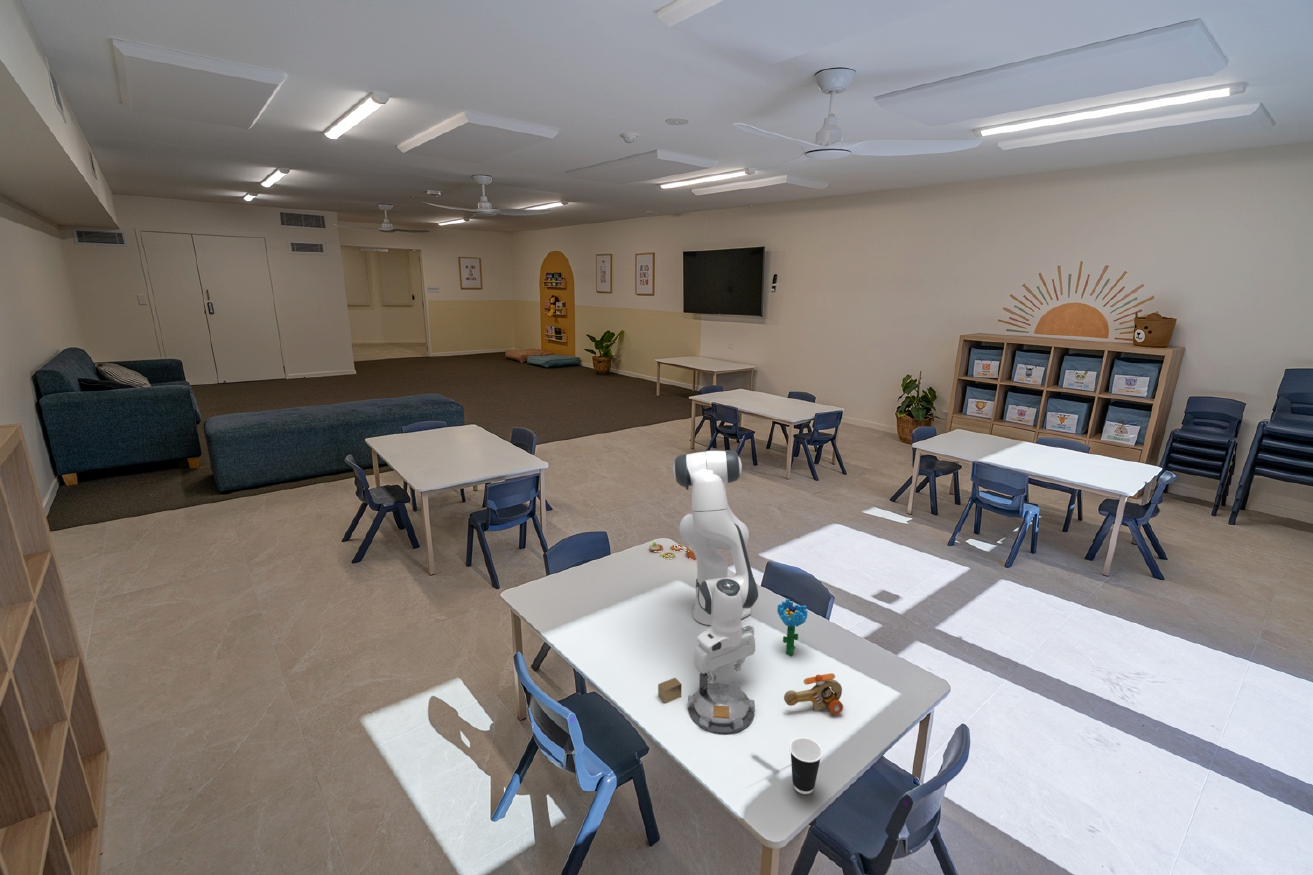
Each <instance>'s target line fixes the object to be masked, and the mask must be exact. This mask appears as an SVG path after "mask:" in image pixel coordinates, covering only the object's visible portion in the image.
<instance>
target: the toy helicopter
mask: <svg viewBox="0 0 1313 875" xmlns="http://www.w3.org/2000/svg"><path fill="white" fill-rule="evenodd" d="M835 678H836V674H834V673H832V672H831V673H824V674H816V675H815V676H811V677H806V678H804V679H803V684H804V685H811V684H815V685H814V686H813V687H812V688H810V689H807V690H806V689H805V690H800V691H795V690H787V691H786V692H785V693H784V695H783V700H784V702H785V704H787V706H789V707H791V706H795V705H796V704H798V703H803V702H804V703H806V702H811V703H812V708H813V710H814V711H816V712H818V711H820V710H821V709H828V711H829V712H830V713H831V714H832V715H840V714H841V713H842V711H843V710H844V705H843V703H842V702H841V700H840V699H841V697H842V694H843V687H842V685H841V684H840V682H839V681H837V680H836V679H835Z"/></svg>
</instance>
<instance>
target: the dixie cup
mask: <svg viewBox="0 0 1313 875" xmlns="http://www.w3.org/2000/svg"><path fill="white" fill-rule="evenodd" d="M788 748H789V751H790V762H791V765H790V766H791V778H792V780H791V781H792V785H793V788H794V790H795V791H796V792H798V793H800V794H803V795H809V794H811V793H813V791H814V789H815V786H816V781H817V776H818V772H819V768H820V762H821V759H822V757H823V752H824V751H823V749H822V746H821V745H820V744H819V743H818V742H817V741H815V740H813V739H812V738H808V737H802V736H801V737H797V738H794V739H792V740H791V741H790V744H789V747H788Z"/></svg>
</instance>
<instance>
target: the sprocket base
mask: <svg viewBox="0 0 1313 875" xmlns="http://www.w3.org/2000/svg"><path fill="white" fill-rule="evenodd" d="M694 694H695V693H693V694H692V696H694ZM748 700H750V698H749V697H748ZM687 710H688V714H689V717H690V719H691V721H692V722H693V723H694V724H696V725H697V727H699V728H701V729H702V730H703V731H706V732H709V733H712V734H716V735H734V734H737V733H741V732H743V731H744V730H746V729H747V728H748V727H749V726H750V725H751V724H752V723H753V720H754V716H755V712H749V713H748V715H747V717H746V718H745V719H744V720H743V727H741V728H738V729H735V730H734V729H733V727H732V726H715V725H712V724H711V725H710V726H709V727H706V726H704V725H702V724H700V723H699V722H700V718H699V717H698V716H697V714H696V713H695V711H694V708H691V707H688V706H687Z"/></svg>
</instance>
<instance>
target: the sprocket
mask: <svg viewBox="0 0 1313 875" xmlns="http://www.w3.org/2000/svg"><path fill="white" fill-rule="evenodd" d="M698 685H699V688H698V689H697V690H696V692H694V693H693V694H694V696H693V695H688V696H687V708H688V707H691V708H694V711H695V713H696V714H697V716H698V717H699V718H700V722H699V723H700V724H702V725H704V726H706V727H709V726H710V725H711V724H712V725H715V726H732V727H733V729H734V730H735V729H738V728H741V727H743V720H744V719H745V718H746V717H747V715H748V713H749V712H754V713H755V712H756V702H755V699H749V700H748V698H749V697H748V695H747V694H746V693H745V692H744V691H743V690H742V685H741V684H739V683H737V682H734V681H732V682H731V683H730V684H729V683H724V682H713V683H712V682H711V681H710V680H709V674H708V673H704V674H702V673H701V672H700V673H699V683H698Z"/></svg>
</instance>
